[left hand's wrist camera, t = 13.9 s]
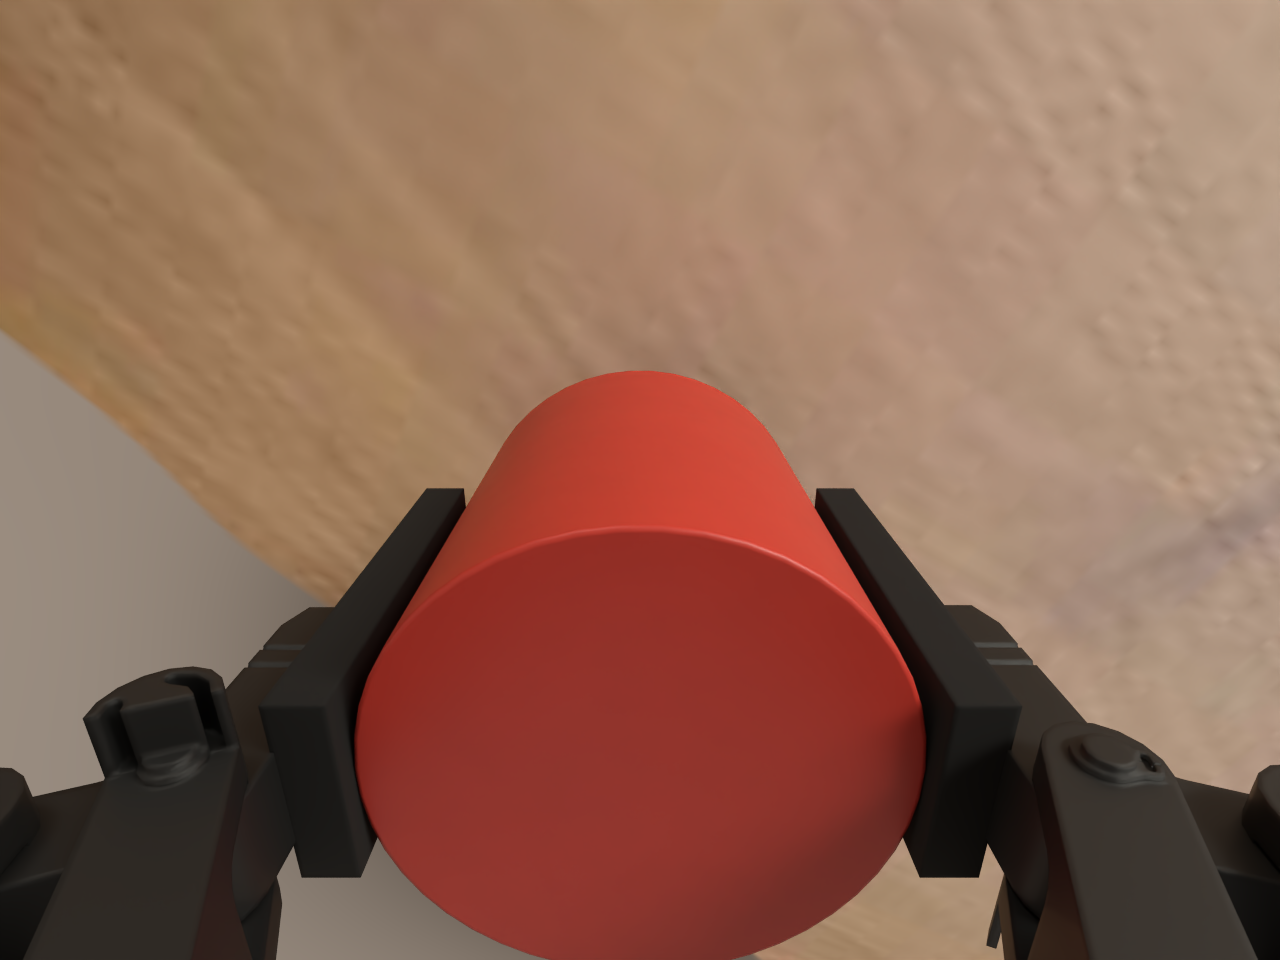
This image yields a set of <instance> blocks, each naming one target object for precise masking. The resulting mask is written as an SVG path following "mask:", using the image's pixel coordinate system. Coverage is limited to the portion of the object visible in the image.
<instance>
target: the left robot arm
mask: <svg viewBox="0 0 1280 960" xmlns="http://www.w3.org/2000/svg"><path fill="white" fill-rule="evenodd" d="M465 508H466V505H465V495H464V488H427V489H426V490H425V491H424V493H423V494H422V495H421V496H420V498H419V499H418V500H417V502H416V503H415V504H414V506H413V507H412V508H411V509H410V511H409V512H408V513H407V515H406V516H405V517H404V518H403V520H402V521H401V522H400V524H399V525H398V526H397V527H396V529H395V530H394V531H393V533H392V534H391V535H390V536H389V538H388V539H387V540H386V542H385V543H384V544H383V546H382V547H381V548H380V549H379V551H378V552H377V553H376V555H375V556H374V557H373V558H372V560H371V561H370V562H369V564H368V565H367V566H366V567H365V569H364V570H363V571H362V573H361V574H360V575H359V576H358V578H357V579H356V580H355V582H354V583H353V584H352V586H351V587H350V588H349V589H348V591H347V592H346V593H345V595H344V596H343V597H342V598H341V600H340V601H339V602H338V604H337V605H336V606H335V607H309V608H308V609H306V610H305V611H303V612H301V613H300V614H298V615H297V616H295V617H294V618H292V619H290V620H289V621H287V622H286V623H284V624H283V625H281V626H280V627H279V629H278V630H277V631H276V632H275V633H274V634H273V636H272V637H271V638H270V639H269V640H268V641H267V642H266V644H265V645H264V648H263V650H259V652H258V653H257V654H256V655H255V656H254V657H253V659H252V660H251V661H250V662H249V663H248V664H249V665H248V668H244V669H243V670H242V671H241V672H240V673H239V675H238V676H237V677H236V678H235V679H234V680H233V681H232V683H231V684H230V685H229V686H228V687H227V688H226V689H225V686H224V683H223V679H222V677H221V676H219V675H218V674H217V673H215V672H214V671H213V670H211V669H206V668H199V667H183V668H173V669H167V670H163V671H160V672H156V673H153V674H149V675H146V676H143V677H140V678H138V679H136V680H134V681H132V682H129V683H127V684H125V685H123V686H121V687H119V688H117V689H115V690H114V691H112V692H111V693H110V694H108V695H107V696H105V697H104V698H102V699H101V700H99V701H98V702H97V703H96V704H95V705H94V706H93V707H92V708H91V710H90V711H89V712H88V713H87V714H86V715H85V717H84V718H83V721H84V723H85V726H86V729H87V731H88V734H89V737H90V739H91V742H92V745H93V747H94V750H95V753H96V755H97V758H98V761H99V763H100V766H101V768H102V771H103V774H104V777H105V779H104V781H101V782H97V783H93V784H88V785H84V786H80V787H75V788H70V789H66V790H62V791H57V792H53V793H48V794H44V795H39V796H35V797H32V794H31V792H30V790H29V788H28V785H27V783H26V781H25V778H24V776H23V775H21V774H20V773H18V772H17V771H15V770H14V769H12V768H0V960H276V953H277V945H278V936H279V927H280V918H281V909H282V900H281V893H280V887H279V884H278V880H277V875H278V873H279V871H280V869H281V868H282V866H283V864H284V862H285V860H286V858H287V857H288V855H289V853H290V851H291V849H292V847H293V846H294V849H295V853H296V857H297V861H298V865H299V869H300V873H301V877H302V878H358V877H359V878H360V877H361V875H362V873H363V871H364V868H365V866H366V864H367V861H368V859H369V856H370V854H371V852H372V849H373V847H374V844H375V842H376V840H377V835H376V833H375V831H374V829H373V828H372V826H371V824H370V821H369V819H368V816H367V813H366V811H365V808H364V805H363V802H362V800H361V797H360V792H359V787H358V782H357V777H356V771H355V754H354V732H355V726H356V719H357V712H358V705H359V702H360V699H361V696H362V693H363V690H364V687H365V684H366V681H367V678H368V675H369V673H370V672H371V670H372V668H373V666H374V664H375V662H376V660H377V658H378V656H379V654H380V653H381V651H382V649H383V647H384V645H385V644H386V642H387V640H388V638H389V637H390V635H391V633H392V632H393V630H394V628H395V627H396V625H397V623H398V622H399V620H400V618H401V617H402V615H403V613H404V611H405V610H406V608H407V606H408V605H409V603H410V601H411V600H412V598H413V596H414V595H415V593H416V591H417V589H418V588H419V586H420V584H421V583H422V581H423V579H424V578H425V576H426V574H427V573H428V571H429V569H430V568H431V566H432V564H433V562H434V561H435V559H436V557H437V556H438V554H439V552H440V551H441V549H442V547H443V546H444V544H445V542H446V540H447V539H448V537H449V535H450V534H451V532H452V530H453V529H454V527H455V525H456V524H457V522H458V520H459V519H460V517H461V515H462V513H463V512H464V510H465ZM815 509H816V511H817V513H818V514H819V516H820V518H821V520H822V521H823V523H824V525H825V526H826V528H827V530H828V531H829V533H830V535H831V536H832V538H833V540H834V541H835V543H836V545H837V547H838V548H839V550H840V552H841V553H842V555H843V557H844V558H845V560H846V562H847V563H848V565H849V567H850V568H851V570H852V572H853V574H854V575H855V577H856V579H857V580H858V582H859V584H860V585H861V587H862V589H863V590H864V592H865V594H866V595H867V597H868V599H869V601H870V602H871V604H872V606H873V607H874V609H875V611H876V612H877V614H878V616H879V617H880V619H881V621H882V622H883V624H884V626H885V628H886V629H887V631H888V633H889V634H890V636H891V638H892V639H893V641H894V643H895V644H896V646H897V648H898V650H899V652H900V653H901V655H902V657H903V659H904V661H905V663H906V665H907V667H908V669H909V671H910V673H911V675H912V677H913V679H914V683H915V686H916V689H917V692H918V695H919V698H920V701H921V704H922V708H923V715H924V723H925V730H926V767H925V774H924V779H923V784H922V789H921V794H920V798H919V801H918V804H917V806H916V809H915V812H914V814H913V817H912V820H911V822H910V825H909V827H908V829H907V830H906V832H905V834H904V836H903V839H904V841H905V843H906V846H907V848H908V851H909V853H910V855H911V858H912V860H913V863H914V865H915V867H916V870H917V872H918V874H919V877H920V878H979V875H980V871H981V867H982V863H983V859H984V855H985V851H986V847H987V843H988V845H989V847H990V849H991V850H992V852H993V854H994V856H995V858H996V859H997V861H998V863H999V865H1000V867H1001V868H1002V870H1003V872H1004V876H1003V880H1002V884H1001V887H1000V891H999V895H998V898H997V902H996V905H995V909H994V913H993V916H992V920H991V924H990V927H989V932H988V938H987V945H986V946H989V947H992V948H997V944H998V941H999V937H1000V934H1002V943H1003V951H1004V960H1280V765H1270V766H1269V767H1267V768H1266V769H1264V770H1262V771H1261V772H1259V773H1258V775H1257V778H1256V780H1255V782H1254V785H1253V787H1252V789H1251V791H1250V794H1246V793H1241V792H1237V791H1232V790H1228V789H1223V788H1219V787H1214V786H1210V785H1205V784H1201V783H1196V782H1192V781H1187V780H1183V779H1180V778H1176V777H1175V776H1174V775H1173V773H1172V772H1171V771H1170V769H1169V768H1168V766H1167V765H1166V764H1165V762H1164V761H1163V760H1162V759H1161V758H1160V757H1158V756H1157V755H1156V754H1155V753H1153V752H1152V751H1151V750H1150V749H1148V748H1147V747H1146V746H1145V745H1143V744H1142V743H1140V742H1138V741H1136V740H1134V739H1132V738H1130V737H1128V736H1126V735H1124V734H1123V733H1121V732H1119V731H1116V730H1112V729H1109V728H1106V727H1103V726H1100V725H1097V724H1093V723H1087V722H1086V721H1085V720H1084V719H1083V718H1082V716H1081V715H1080V714H1079V713H1078V712H1077V711H1076V710H1075V708H1074V707H1073V706H1072V705H1071V704H1070V703H1069V702H1068V700H1067V699H1066V698H1065V697H1064V696H1063V695H1062V694H1061V693H1060V691H1059V690H1058V689H1057V688H1056V687H1055V686H1054V685H1053V683H1052V682H1051V681H1050V680H1049V679H1048V678H1047V677H1046V675H1045V674H1044V673H1043V672H1042V671H1041V670H1040V669H1039V667H1038V666H1037V665H1033V661H1032V659H1031V658H1030V657H1029V656H1028V655H1027V654H1026V653H1025V651H1024V650H1023V649H1022V648H1018V643H1017V642H1016V641H1015V640H1014V639H1013V638H1012V637H1011V635H1010V634H1009V633H1008V632H1007V631H1006V630H1005V629H1004V627H1003V626H1002V625H1001V624H1000V623H999V622H997V621H996V620H994V619H992V618H991V617H989V616H988V615H986V614H985V613H983V612H981V611H980V610H978V609H977V608H975V607H973V606H972V605H944V604H943V603H942V602H941V600H940V599H939V598H938V597H937V595H936V594H935V593H934V591H933V590H932V589H931V587H930V586H929V585H928V584H927V582H926V581H925V580H924V578H923V577H922V576H921V575H920V573H919V572H918V571H917V569H916V568H915V567H914V566H913V564H912V563H911V562H910V560H909V559H908V558H907V557H906V555H905V554H904V553H903V551H902V550H901V549H900V547H899V546H898V545H897V544H896V542H895V541H894V540H893V538H892V537H891V536H890V535H889V533H888V532H887V531H886V529H885V528H884V527H883V526H882V524H881V523H880V522H879V520H878V519H877V518H876V517H875V515H874V514H873V513H872V511H871V510H870V509H869V508H868V506H867V505H866V504H865V502H864V501H863V500H862V498H861V497H860V496H859V495H858V493H857V492H856V491H855V489H846V488H817V490H816V500H815Z"/></svg>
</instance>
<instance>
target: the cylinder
mask: <svg viewBox="0 0 1280 960" xmlns="http://www.w3.org/2000/svg"><path fill="white" fill-rule="evenodd" d="M354 754H355V771H356V777H357V782H358V787H359V792H360V797H361V800H362V802H363V805H364V808H365V811H366V813H367V816H368V819H369V821H370V824H371V826H372V828H373V829H374V831H375V833H376V835H377V837H378V839H379V840H380V842H381V844H382V846H383V848H384V849H385V851H386V852H387V853H388V855H389V856H390V857H391V859H392V860H393V861H394V863H395V864H396V865H397V867H398V868H399V869H400V871H401V872H402V873H403V874H404V875H405V876H406V877H407V878H408V879H409V880H410V881H411V882H412V883H413V884H414V886H415V887H416V888H417V889H418V890H419V891H420V892H421V893H422V894H423V895H425V896H426V897H427V898H428V899H430V900H431V901H432V902H433V903H435V904H436V905H437V906H438V907H440V908H441V909H442V910H443V911H445V912H446V913H447V914H449V915H450V916H452V917H454V918H455V919H457V920H458V921H460V922H462V923H463V924H465V925H466V926H468V927H469V928H471V929H473V930H475V931H477V932H479V933H481V934H483V935H485V936H487V937H489V938H491V939H493V940H495V941H497V942H499V943H501V944H504V945H506V946H509V947H512V948H514V949H517V950H519V951H522V952H525V953H527V954H530V955H534V956H537V957H541V958H545V959H549V960H732V959H736V958H739V957H743V956H747V955H750V954H753V953H756V952H758V951H761V950H764V949H766V948H769V947H772V946H774V945H777V944H780V943H782V942H784V941H786V940H788V939H790V938H792V937H794V936H796V935H798V934H800V933H802V932H804V931H806V930H808V929H809V928H811V927H813V926H814V925H816V924H817V923H819V922H821V921H822V920H824V919H825V918H827V917H829V916H830V915H832V914H833V913H835V912H836V911H837V910H838V909H840V908H841V907H842V906H843V905H845V904H846V903H847V902H848V901H850V900H851V899H852V898H853V897H855V896H856V895H857V894H858V893H859V892H860V891H861V890H862V889H863V888H864V887H865V886H866V885H867V884H868V883H869V882H870V881H871V880H872V879H873V878H874V877H875V876H876V875H877V874H878V873H879V871H880V870H881V869H882V867H883V866H884V865H885V863H886V862H887V861H888V859H889V858H890V857H891V855H892V854H893V853H894V851H895V850H896V848H897V846H898V845H899V843H900V841H901V839H902V838H903V836H904V834H905V832H906V830H907V829H908V827H909V825H910V822H911V820H912V817H913V814H914V812H915V809H916V806H917V804H918V801H919V798H920V794H921V789H922V784H923V779H924V774H925V767H926V730H925V723H924V715H923V708H922V704H921V701H920V698H919V695H918V692H917V689H916V686H915V683H914V679H913V677H912V675H911V673H910V671H909V669H908V667H907V665H906V663H905V661H904V659H903V657H902V655H901V653H900V652H899V650H898V648H897V646H896V644H895V643H894V641H893V639H892V638H891V636H890V634H889V633H888V631H887V629H886V628H885V626H884V624H883V622H882V621H881V619H880V617H879V616H878V614H877V612H876V611H875V609H874V607H873V606H872V604H871V602H870V601H869V599H868V597H867V595H866V594H865V592H864V590H863V589H862V587H861V585H860V584H859V582H858V580H857V579H856V577H855V575H854V574H853V572H852V570H851V568H850V567H849V565H848V563H847V562H846V560H845V558H844V557H843V555H842V553H841V552H840V550H839V548H838V547H837V545H836V543H835V541H834V540H833V538H832V536H831V535H830V533H829V531H828V530H827V528H826V526H825V525H824V523H823V521H822V520H821V518H820V516H819V514H818V513H817V511H816V509H815V508H814V506H813V504H812V503H811V501H810V499H809V498H808V496H807V494H806V493H805V491H804V489H803V487H802V486H801V484H800V482H799V481H798V479H797V477H796V476H795V474H794V472H793V471H792V469H791V467H790V466H789V464H788V462H787V460H786V459H785V457H784V455H783V454H782V452H781V450H780V449H779V447H778V445H777V444H776V442H775V441H774V439H773V438H772V437H771V435H770V434H769V432H768V431H767V430H766V428H765V427H764V426H763V425H762V424H761V423H760V422H759V421H758V420H757V419H756V417H755V416H754V415H753V414H752V413H751V412H750V411H748V410H747V409H746V408H745V407H743V406H742V405H741V404H739V403H738V402H737V401H736V400H734V399H733V398H731V397H730V396H728V395H726V394H724V393H723V392H721V391H719V390H718V389H716V388H714V387H711V386H709V385H707V384H704V383H702V382H699V381H697V380H694V379H691V378H687V377H683V376H679V375H676V374H670V373H663V372H655V371H625V372H617V373H610V374H605V375H601V376H597V377H593V378H590V379H586V380H583V381H581V382H579V383H576V384H574V385H571V386H569V387H566V388H565V389H563V390H561V391H559V392H558V393H556V394H554V395H552V396H551V397H549V398H547V399H546V400H545V401H543V402H542V403H541V404H540V405H538V406H537V407H536V408H534V409H533V410H532V411H531V412H530V413H529V414H528V415H527V416H526V417H525V418H524V419H523V420H522V421H521V422H520V423H519V424H518V425H517V426H516V427H515V429H514V430H513V432H512V433H511V434H510V436H509V437H508V438H507V440H506V441H505V442H504V444H503V446H502V448H501V449H500V451H499V453H498V454H497V456H496V458H495V459H494V461H493V463H492V464H491V466H490V468H489V470H488V471H487V473H486V475H485V476H484V478H483V480H482V481H481V483H480V485H479V486H478V488H477V490H476V491H475V493H474V495H473V497H472V498H471V500H470V502H469V503H468V505H467V507H466V508H465V510H464V512H463V513H462V515H461V517H460V519H459V520H458V522H457V524H456V525H455V527H454V529H453V530H452V532H451V534H450V535H449V537H448V539H447V540H446V542H445V544H444V546H443V547H442V549H441V551H440V552H439V554H438V556H437V557H436V559H435V561H434V562H433V564H432V566H431V568H430V569H429V571H428V573H427V574H426V576H425V578H424V579H423V581H422V583H421V584H420V586H419V588H418V589H417V591H416V593H415V595H414V596H413V598H412V600H411V601H410V603H409V605H408V606H407V608H406V610H405V611H404V613H403V615H402V617H401V618H400V620H399V622H398V623H397V625H396V627H395V628H394V630H393V632H392V633H391V635H390V637H389V638H388V640H387V642H386V644H385V645H384V647H383V649H382V651H381V653H380V654H379V656H378V658H377V660H376V662H375V664H374V666H373V668H372V670H371V672H370V673H369V675H368V678H367V681H366V684H365V687H364V690H363V693H362V696H361V699H360V702H359V705H358V712H357V719H356V726H355V732H354Z"/></svg>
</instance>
